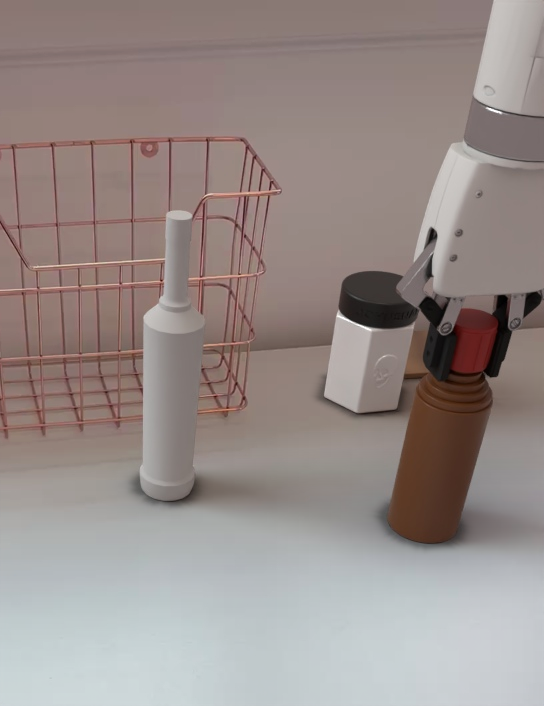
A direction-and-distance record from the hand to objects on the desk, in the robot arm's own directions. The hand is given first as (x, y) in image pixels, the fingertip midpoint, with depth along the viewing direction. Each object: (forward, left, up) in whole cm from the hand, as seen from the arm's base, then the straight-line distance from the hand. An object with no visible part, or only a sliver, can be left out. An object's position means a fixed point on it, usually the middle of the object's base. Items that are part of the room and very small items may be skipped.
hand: (460, 369), depth 84 cm
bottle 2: (0, 0, -15) cm, 15 cm away
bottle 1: (+22, -9, -15) cm, 28 cm away
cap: (0, 0, +1) cm, 1 cm away
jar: (-3, -23, -15) cm, 28 cm away
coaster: (-13, -31, -15) cm, 37 cm away
